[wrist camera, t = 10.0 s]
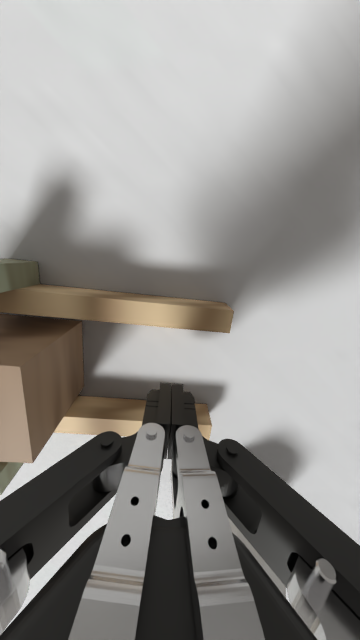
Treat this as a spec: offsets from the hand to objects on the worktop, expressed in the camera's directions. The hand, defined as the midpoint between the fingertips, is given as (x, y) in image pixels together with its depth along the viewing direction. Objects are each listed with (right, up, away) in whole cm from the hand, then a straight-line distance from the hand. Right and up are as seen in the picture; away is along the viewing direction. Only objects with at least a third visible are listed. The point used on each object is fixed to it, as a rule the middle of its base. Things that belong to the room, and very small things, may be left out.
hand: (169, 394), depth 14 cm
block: (-11, +2, +3) cm, 12 cm away
